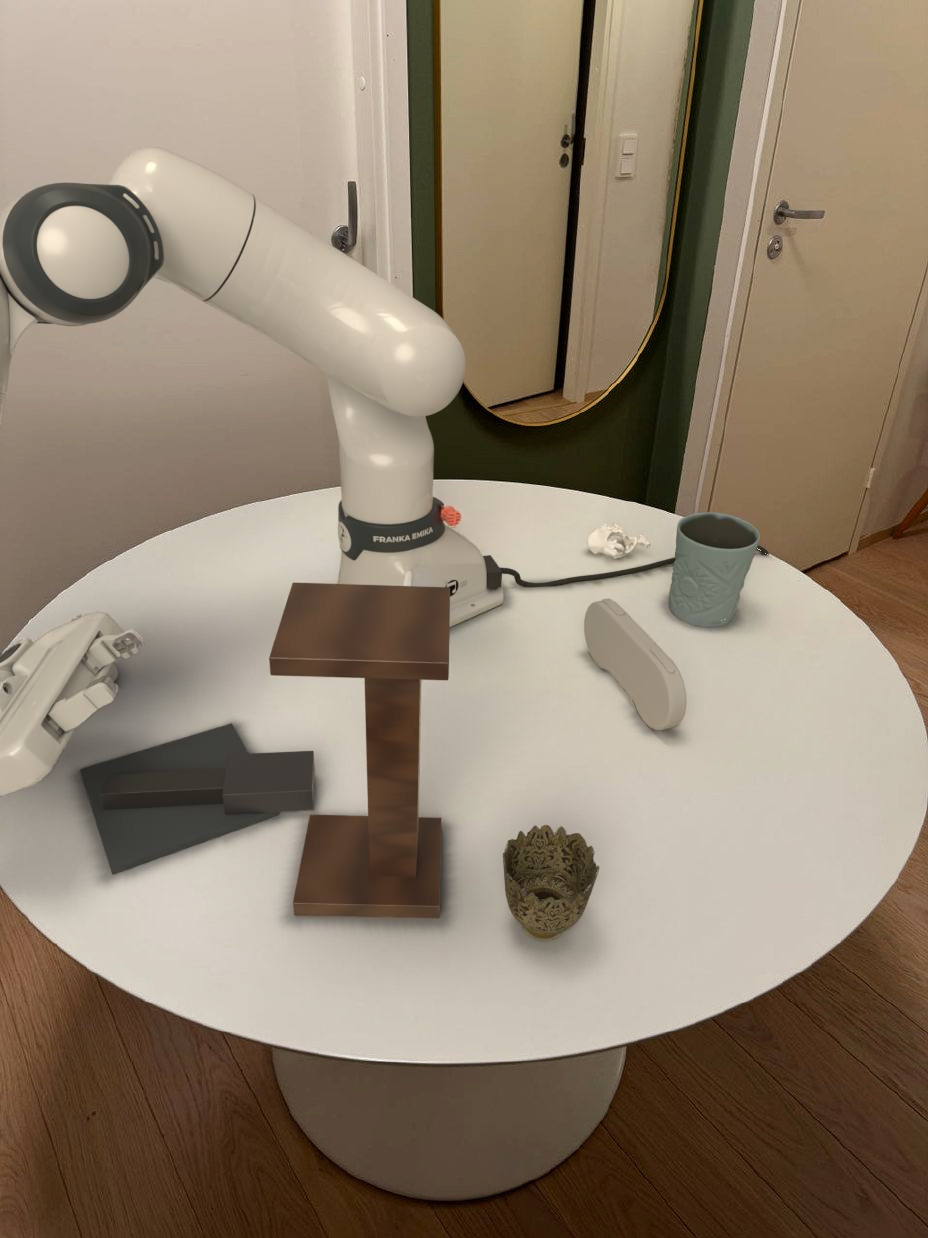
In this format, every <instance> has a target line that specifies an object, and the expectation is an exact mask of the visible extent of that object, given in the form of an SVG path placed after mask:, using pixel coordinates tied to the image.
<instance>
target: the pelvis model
mask: <svg viewBox="0 0 928 1238" xmlns="http://www.w3.org/2000/svg"><path fill="white" fill-rule="evenodd" d="M613 536H618V537H620V538H621V539H622V540H623V544H622V543H618V540H617V539H614V540H609V539H611V537H613ZM586 545H587V548H588V549H589V551H590V552H591V553H592V554H594V555H597V554H598V553H601V554H603V555H606V556H609V557H611V558H613V559H614V560H616V559H620V558H623V557H626V556H627V555H628V554H629V553H631V552H633V549H634V548H635V547H636V546H637V545H639V546H642V547H644V548H645V549H648V548H650V546H651V543H650V542H649V540H648V539H647V537H646V536H645V535H643V534H639V535H638V538H637V536H630V535H628V534H627V533H626V532H625V531H624V527H622V526H619V525H618V523H616V522H613V523H612V524H611V525H608V524H606V523H604V522H602V525H601V526H599V527H598V528H596V529H595V530H593V531H592V532H591V533H590V534H589V536H588V538H587V541H586ZM624 545H625V547H624ZM617 549H618V550H621V552H620V551H619V552H618V550H617Z"/></svg>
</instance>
